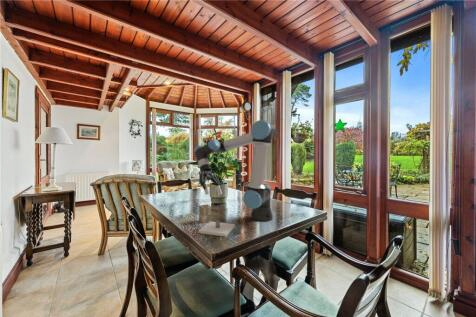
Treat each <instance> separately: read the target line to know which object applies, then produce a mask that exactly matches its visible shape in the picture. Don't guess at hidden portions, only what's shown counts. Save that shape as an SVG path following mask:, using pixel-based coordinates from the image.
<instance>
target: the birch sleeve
mask: <svg viewBox="0 0 476 317" xmlns="http://www.w3.org/2000/svg"><path fill="white" fill-rule="evenodd" d="M212 210H213V208H212V205H210V204H201V205H200V204H199V206H198V221H199V222H200V223H202V224H208V223H209V222H210V221H212V217H213V216H212V215H213V214H212V213H213V211H212ZM212 222H213V221H212Z"/></svg>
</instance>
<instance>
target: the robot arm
mask: <svg viewBox="0 0 476 317" xmlns="http://www.w3.org/2000/svg"><path fill="white" fill-rule="evenodd" d="M276 128H277V127H276V126H275V125H274V124H273V123H272V122H270V121H267V120H262V119H260V120H257V121H255V122H253V124H252V125H251V127H250V132H249V133H245V134H242V135H238V136H236V137H233V138H229V139H227V140H223V141H221V142H219V141H218V140H217V139H216V138H213V139H211V140H209V141H208V142H207V143H205V144H204V145H198V146H197V145H196V146H195V147H194V149H193V152H194V156H195V158H196V162H197V165H198V167H199V170H200V171H198V175H199V181H198V182H199V183H198V184H199V185H200V186H202V189H203V191H204V194H205V195H206V196H207V195H209V194H210V190H209V188H208V184H207V179H208V180H210V182H212V183H213V184H214V185H215V189H216V192H217V194H218V196H221V195H222V194H223V192H222V189H221V185H222V184H221V181H220V180H219V179H218V177H217V175H216V173H215V172H212V166H211V165H210V164H211V163H210V161H209V159H208V158H209V156H210V155H211V154H214V153H215V154H216V153H217V154H219V153H220V154H223V153H226V152H228V151H231V150H235V149H237V148H240V147H241V148H242V147H244V146H248V145H251V144H253V154H252V161H251V162H252V163H251V169H250V179H249V183H248V184H246V191H245V192H244V193H243V195H242V200H243V203H244V205H245V206H246V207H247V208H249V209H251V212H250V219H251V220H254V221H257V222H269V220H270V221H272V220H273V219H274V217H273V212H272V208H271V200H272V199H271V196H272V190H271V188H272V186H270V185H269V184H265V182H264V181H265V175H266V167H267V159H268V150H269V146H270V145H272V140H273V139H274V138H275V137H276V135H277V129H276Z"/></svg>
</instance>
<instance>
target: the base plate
mask: <svg viewBox="0 0 476 317" xmlns="http://www.w3.org/2000/svg"><path fill="white" fill-rule="evenodd" d="M235 227H236V224H235V223H226V222H220V220H215V221H210V222H208V223H205V225H204V226H202V227H201V228H200V229H198V234H204V235H209V236H219V237H226V238H227V236H228V235H229V234H230V233H231V232H232V231H233V230H234V229H235Z"/></svg>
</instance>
